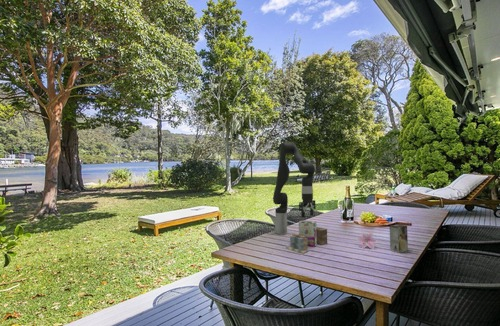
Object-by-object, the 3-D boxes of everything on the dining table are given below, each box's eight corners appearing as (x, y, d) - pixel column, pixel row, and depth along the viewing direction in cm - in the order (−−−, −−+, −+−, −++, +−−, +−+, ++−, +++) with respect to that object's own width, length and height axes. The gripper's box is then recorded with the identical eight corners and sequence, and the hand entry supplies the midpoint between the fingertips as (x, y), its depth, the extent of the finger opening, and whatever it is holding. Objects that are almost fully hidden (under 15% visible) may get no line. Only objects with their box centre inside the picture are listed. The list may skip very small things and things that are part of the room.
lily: (353, 247, 193) (355, 237, 188) (362, 238, 200) (363, 227, 195) (371, 256, 185) (372, 246, 180) (379, 246, 192) (381, 235, 187)
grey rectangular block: (286, 248, 190) (285, 234, 190) (312, 241, 207) (312, 228, 207) (303, 253, 178) (302, 238, 178) (329, 245, 195) (329, 231, 195)
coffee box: (398, 248, 186) (398, 223, 186) (408, 250, 181) (407, 225, 181) (389, 250, 182) (389, 225, 182) (398, 253, 176) (398, 227, 176)
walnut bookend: (308, 241, 202) (307, 227, 202) (313, 239, 205) (313, 226, 205) (321, 245, 192) (321, 230, 192) (327, 243, 196) (327, 229, 196)
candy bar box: (317, 245, 192) (316, 221, 192) (314, 247, 188) (314, 222, 188) (301, 243, 198) (301, 219, 198) (298, 245, 193) (298, 221, 193)
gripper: (309, 191, 200) (310, 214, 200) (295, 193, 191) (296, 216, 191) (318, 192, 194) (318, 215, 194) (304, 193, 185) (304, 218, 185)
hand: (307, 216), depth 192 cm, fingers open, 8 cm apart
